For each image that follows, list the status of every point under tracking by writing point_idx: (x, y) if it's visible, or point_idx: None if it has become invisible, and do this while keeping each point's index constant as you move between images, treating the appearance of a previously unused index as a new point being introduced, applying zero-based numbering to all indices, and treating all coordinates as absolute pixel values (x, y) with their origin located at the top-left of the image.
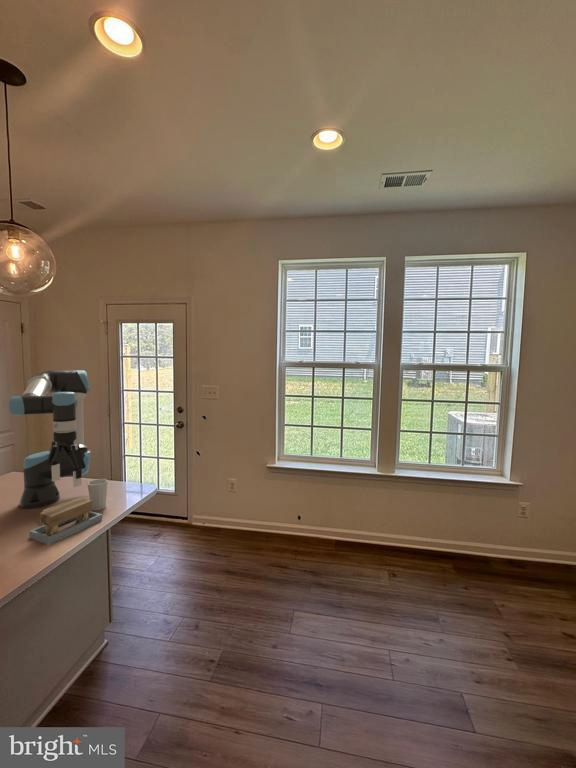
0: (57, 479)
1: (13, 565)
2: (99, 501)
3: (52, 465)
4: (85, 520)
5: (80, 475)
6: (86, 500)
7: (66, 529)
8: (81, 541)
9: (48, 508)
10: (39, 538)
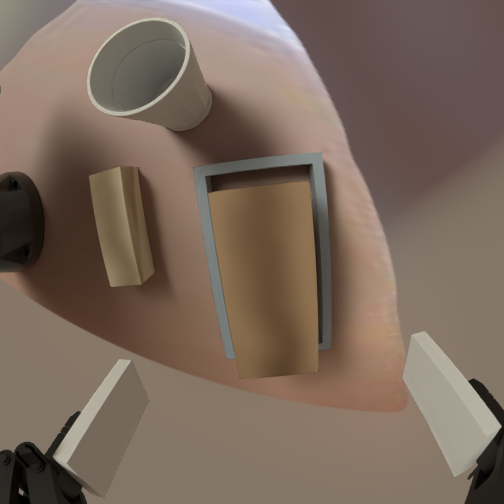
0: (135, 379)
1: (341, 400)
2: (203, 99)
3: (87, 490)
4: None
5: (485, 399)
6: (280, 198)
7: (326, 297)
8: (393, 278)
9: (108, 267)
10: None
